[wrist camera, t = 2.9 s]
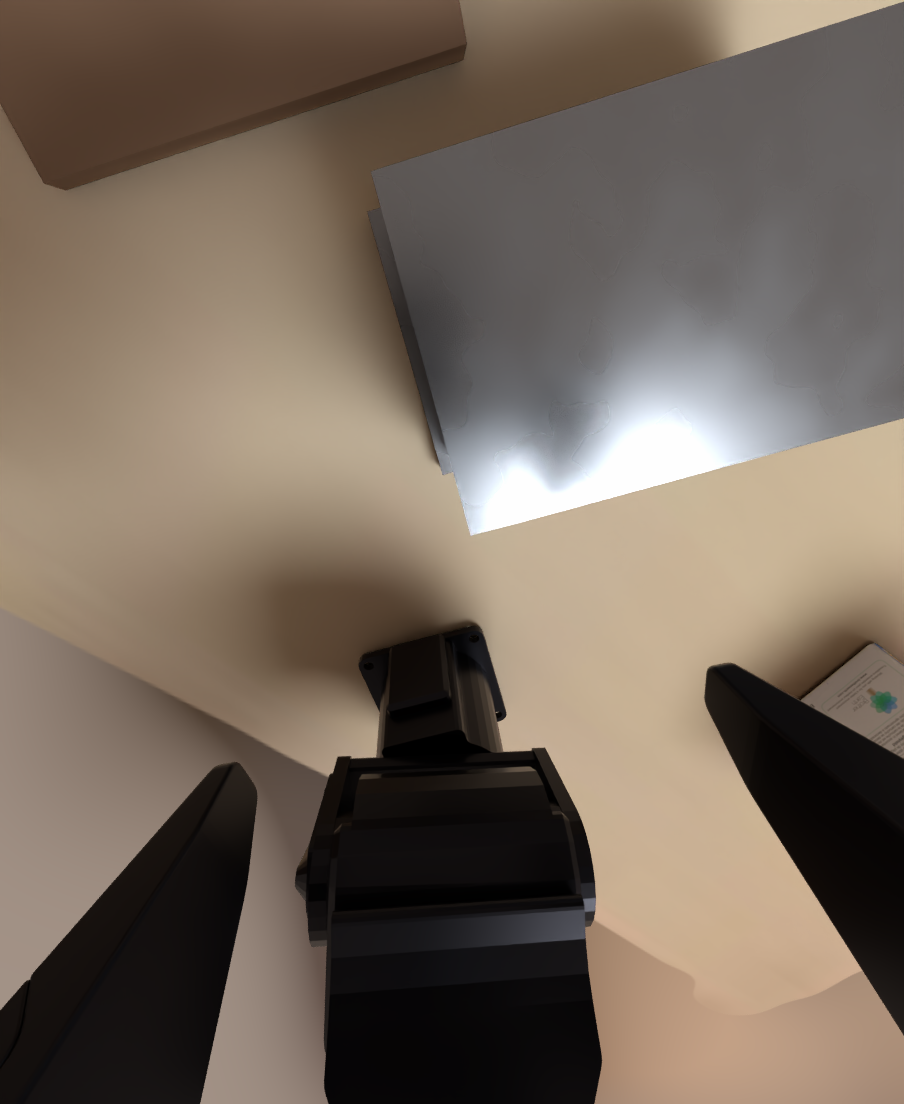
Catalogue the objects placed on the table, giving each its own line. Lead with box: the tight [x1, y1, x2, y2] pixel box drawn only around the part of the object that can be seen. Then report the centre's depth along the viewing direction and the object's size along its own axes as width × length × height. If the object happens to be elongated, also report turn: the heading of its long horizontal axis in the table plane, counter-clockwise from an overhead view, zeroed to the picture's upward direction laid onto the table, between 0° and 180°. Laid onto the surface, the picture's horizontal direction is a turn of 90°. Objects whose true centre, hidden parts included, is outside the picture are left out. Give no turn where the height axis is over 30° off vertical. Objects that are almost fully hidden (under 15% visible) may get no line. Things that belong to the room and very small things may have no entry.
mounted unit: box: [368, 2, 904, 536], centre depth 14 cm, size 9×13×8 cm
